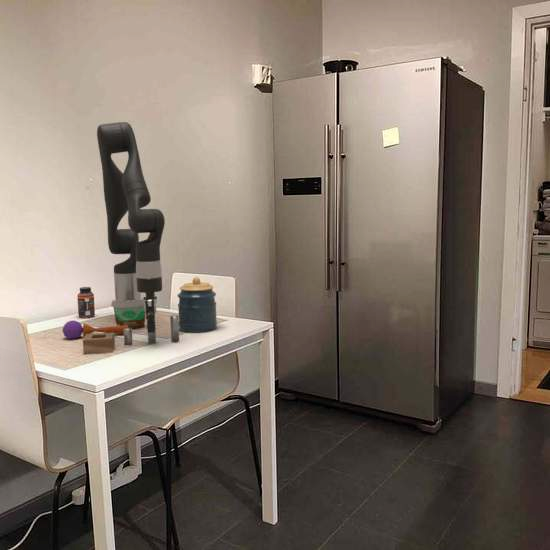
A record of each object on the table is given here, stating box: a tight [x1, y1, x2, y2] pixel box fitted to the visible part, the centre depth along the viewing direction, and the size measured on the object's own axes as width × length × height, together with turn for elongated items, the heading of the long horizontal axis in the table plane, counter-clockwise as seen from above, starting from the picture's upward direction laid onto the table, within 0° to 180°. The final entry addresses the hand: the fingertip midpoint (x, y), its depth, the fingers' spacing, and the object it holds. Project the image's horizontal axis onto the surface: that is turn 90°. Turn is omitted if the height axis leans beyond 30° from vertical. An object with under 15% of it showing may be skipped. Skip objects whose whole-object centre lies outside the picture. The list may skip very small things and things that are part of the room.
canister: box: [177, 276, 218, 333], centre depth 186 cm, size 13×13×18 cm
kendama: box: [62, 320, 128, 340], centre depth 178 cm, size 6×6×20 cm
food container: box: [110, 298, 146, 331], centre depth 188 cm, size 12×6×10 cm, turn 114°
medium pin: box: [169, 314, 180, 343], centre depth 170 cm, size 2×2×8 cm
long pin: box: [147, 313, 157, 345], centre depth 168 cm, size 2×2×12 cm
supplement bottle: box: [77, 286, 96, 319], centre depth 209 cm, size 6×6×11 cm
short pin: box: [123, 328, 134, 346], centre depth 167 cm, size 2×2×5 cm
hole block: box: [82, 332, 116, 355], centre depth 162 cm, size 8×8×4 cm
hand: (151, 329), depth 168 cm, fingers open, 6 cm apart
